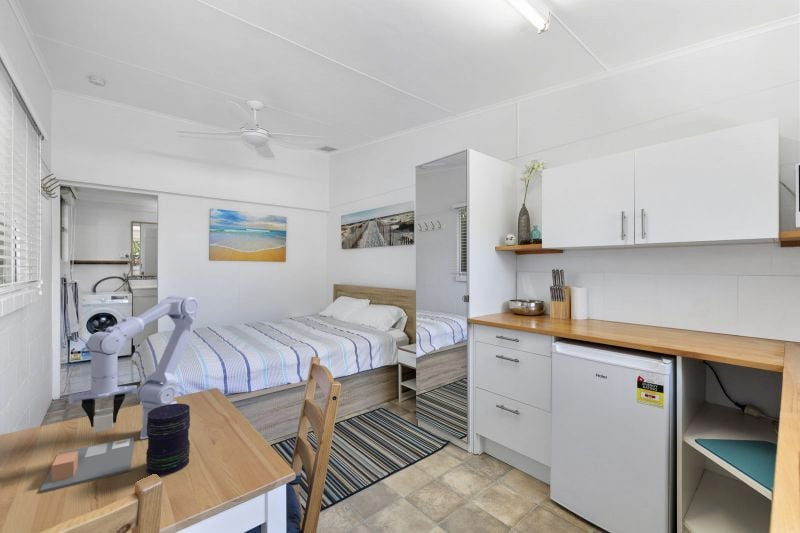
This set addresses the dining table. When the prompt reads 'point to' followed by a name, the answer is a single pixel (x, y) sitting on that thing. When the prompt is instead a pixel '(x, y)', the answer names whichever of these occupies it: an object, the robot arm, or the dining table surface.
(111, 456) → the baseplate
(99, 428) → the off-white brick
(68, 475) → the terracotta brick
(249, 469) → the dining table surface
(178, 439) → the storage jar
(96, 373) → the robot arm
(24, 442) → the dining table surface
